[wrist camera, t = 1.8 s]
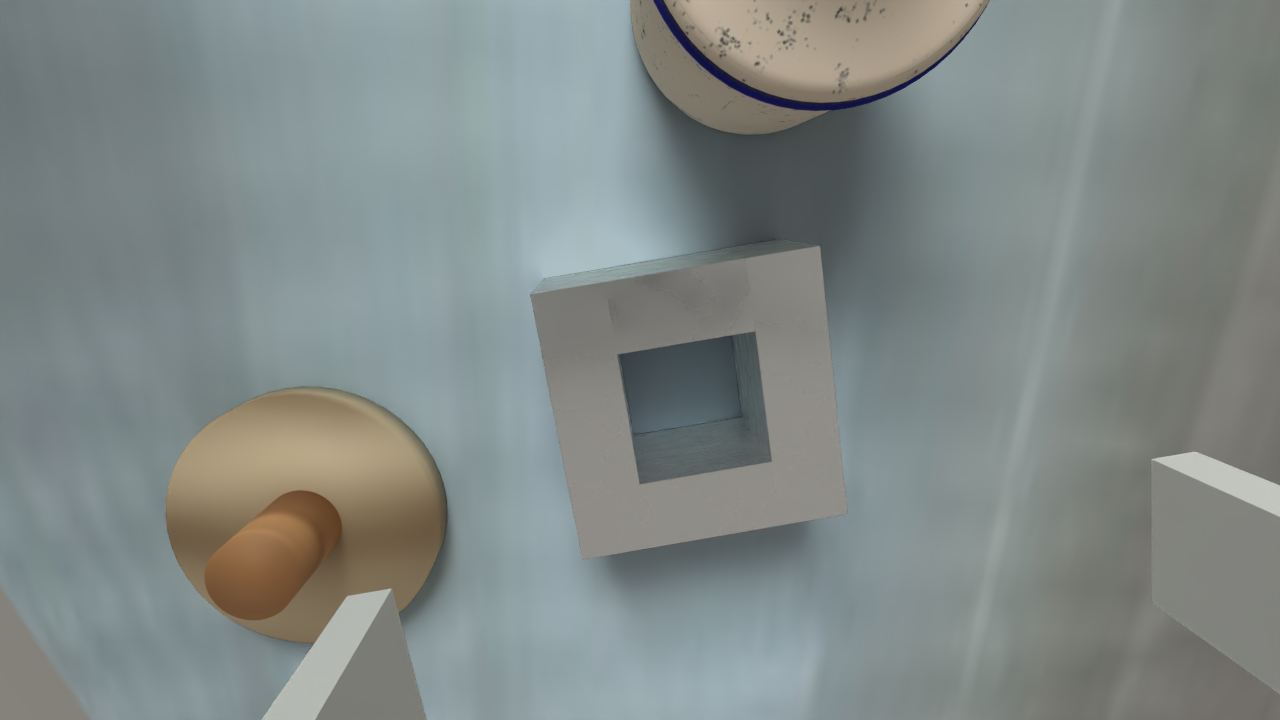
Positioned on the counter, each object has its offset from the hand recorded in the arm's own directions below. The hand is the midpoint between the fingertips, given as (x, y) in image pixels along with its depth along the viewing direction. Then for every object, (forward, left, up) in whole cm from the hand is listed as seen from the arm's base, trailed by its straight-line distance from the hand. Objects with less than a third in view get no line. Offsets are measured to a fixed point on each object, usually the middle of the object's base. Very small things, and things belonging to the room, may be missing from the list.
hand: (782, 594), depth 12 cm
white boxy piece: (0, 0, -16) cm, 16 cm away
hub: (+3, -15, -16) cm, 22 cm away
